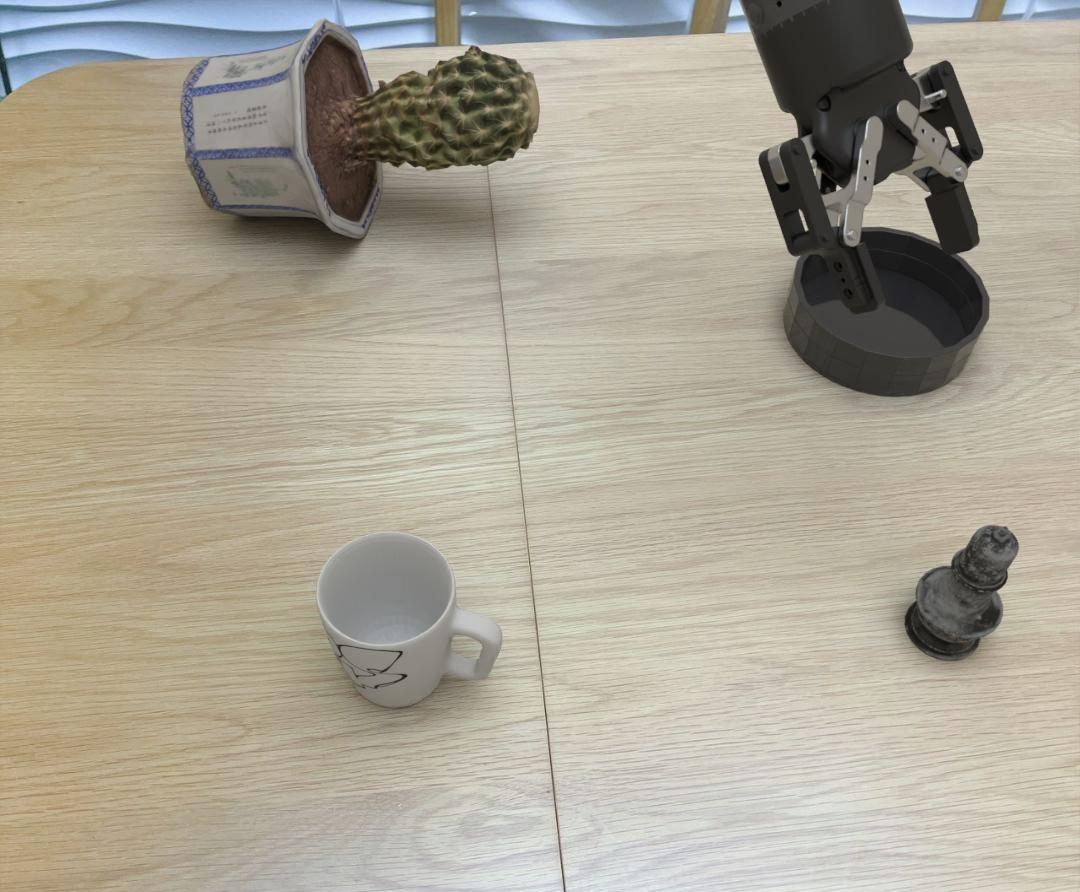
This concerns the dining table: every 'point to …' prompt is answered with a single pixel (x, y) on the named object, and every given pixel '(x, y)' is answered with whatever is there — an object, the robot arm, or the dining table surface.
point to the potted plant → (342, 125)
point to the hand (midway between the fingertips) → (917, 279)
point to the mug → (399, 618)
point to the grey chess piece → (962, 596)
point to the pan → (890, 317)
